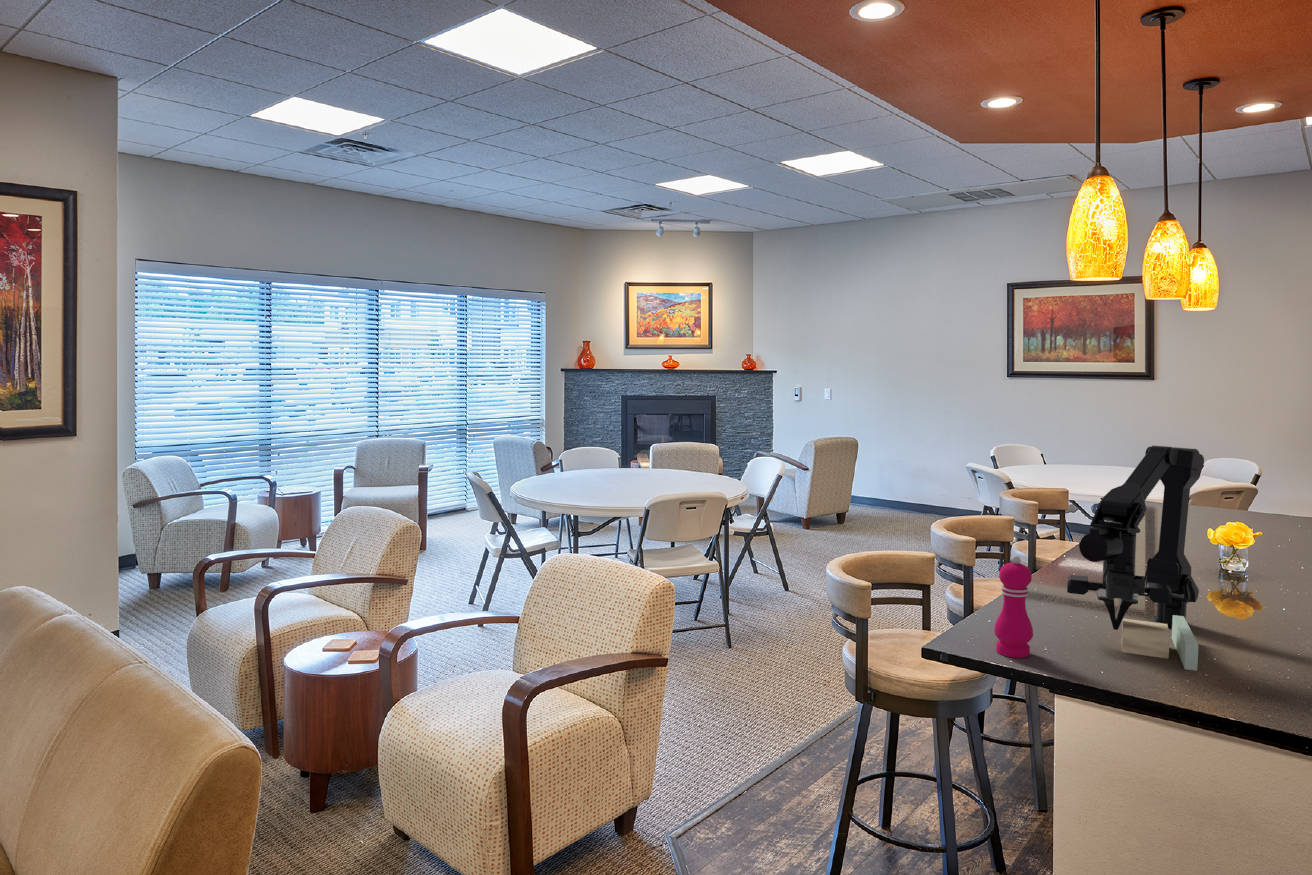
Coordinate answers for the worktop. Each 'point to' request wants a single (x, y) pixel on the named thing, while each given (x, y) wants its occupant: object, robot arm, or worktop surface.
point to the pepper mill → (1014, 611)
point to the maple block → (1145, 638)
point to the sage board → (1185, 642)
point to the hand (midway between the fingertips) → (1115, 629)
